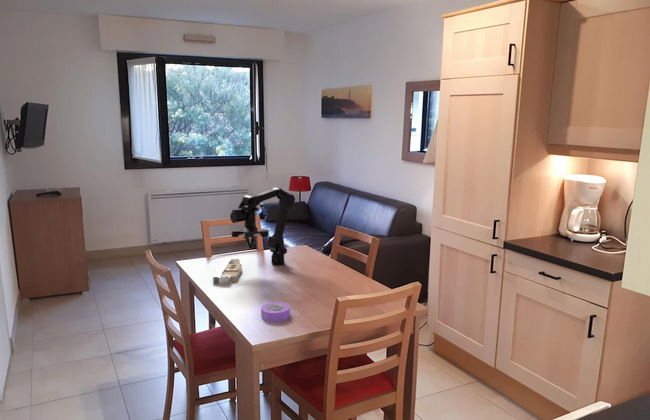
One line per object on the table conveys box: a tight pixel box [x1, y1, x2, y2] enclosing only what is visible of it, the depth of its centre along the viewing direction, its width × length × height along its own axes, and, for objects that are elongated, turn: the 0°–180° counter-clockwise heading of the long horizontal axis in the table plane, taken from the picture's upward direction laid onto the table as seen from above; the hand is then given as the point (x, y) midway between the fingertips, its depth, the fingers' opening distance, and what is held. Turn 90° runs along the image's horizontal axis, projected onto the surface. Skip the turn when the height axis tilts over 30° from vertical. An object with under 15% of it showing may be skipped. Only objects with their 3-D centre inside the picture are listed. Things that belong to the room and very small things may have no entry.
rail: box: [212, 258, 241, 286], centre depth 245 cm, size 8×31×4 cm, turn 1°
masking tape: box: [260, 301, 291, 323], centre depth 196 cm, size 12×12×4 cm
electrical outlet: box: [222, 263, 243, 283], centre depth 243 cm, size 7×4×18 cm
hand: (250, 249), depth 251 cm, fingers closed
